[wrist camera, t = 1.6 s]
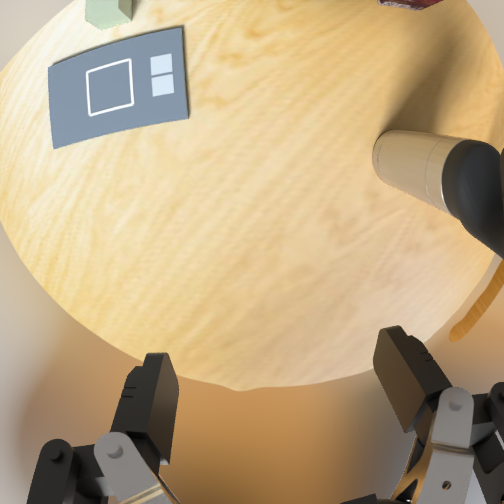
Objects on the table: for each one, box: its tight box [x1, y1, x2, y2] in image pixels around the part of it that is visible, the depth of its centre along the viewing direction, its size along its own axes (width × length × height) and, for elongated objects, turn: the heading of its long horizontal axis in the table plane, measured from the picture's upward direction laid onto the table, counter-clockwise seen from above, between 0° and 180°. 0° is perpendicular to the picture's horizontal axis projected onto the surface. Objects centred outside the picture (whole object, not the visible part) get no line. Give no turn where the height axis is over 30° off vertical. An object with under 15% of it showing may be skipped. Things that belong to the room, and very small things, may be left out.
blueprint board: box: [48, 28, 189, 149], centre depth 33 cm, size 22×14×1 cm, turn 94°
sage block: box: [85, 0, 132, 30], centre depth 26 cm, size 5×5×6 cm
